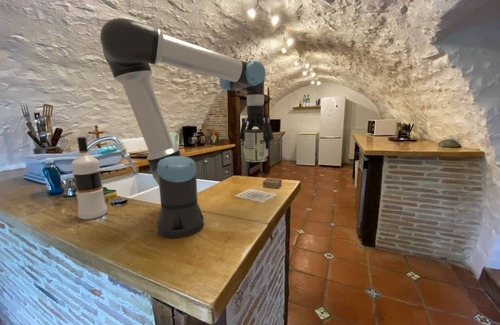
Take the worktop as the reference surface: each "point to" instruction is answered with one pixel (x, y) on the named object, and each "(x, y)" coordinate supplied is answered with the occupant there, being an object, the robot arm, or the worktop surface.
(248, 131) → the coffee can
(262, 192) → the letter
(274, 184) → the walnut block
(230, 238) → the worktop surface
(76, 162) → the vodka
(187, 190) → the robot arm
